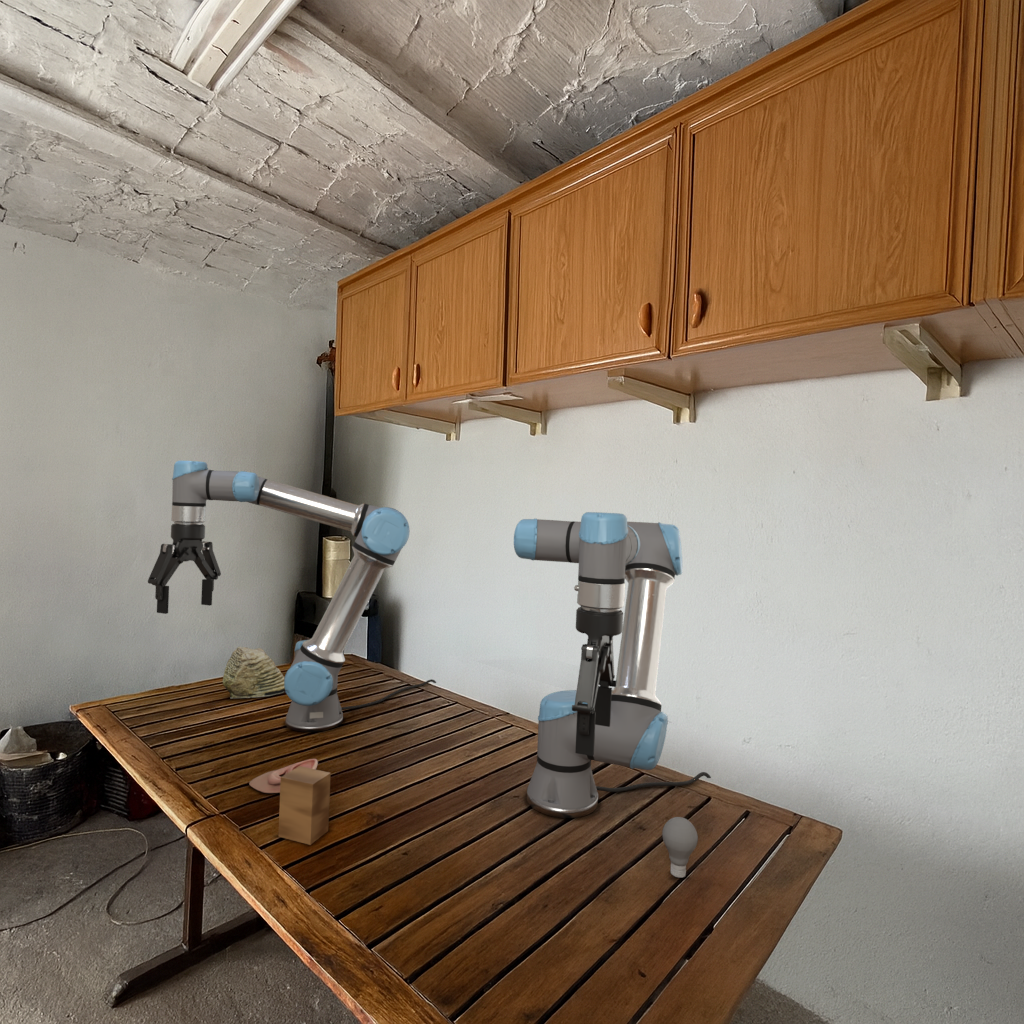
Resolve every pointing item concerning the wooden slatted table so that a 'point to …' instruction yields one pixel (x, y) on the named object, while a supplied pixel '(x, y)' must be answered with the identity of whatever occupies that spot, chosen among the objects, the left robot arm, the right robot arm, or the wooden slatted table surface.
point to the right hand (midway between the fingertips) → (593, 738)
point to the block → (304, 805)
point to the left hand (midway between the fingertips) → (185, 608)
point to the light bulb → (679, 843)
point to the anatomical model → (278, 777)
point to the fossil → (252, 674)
